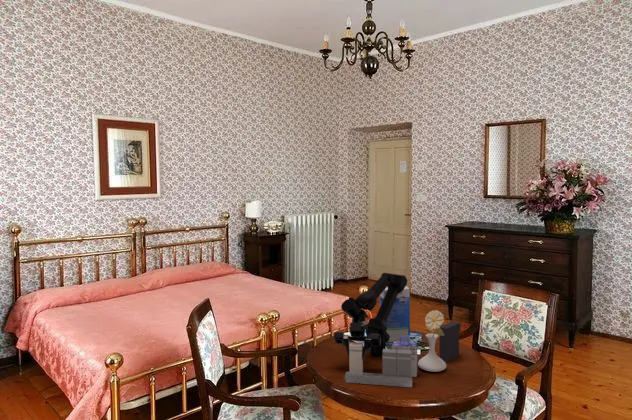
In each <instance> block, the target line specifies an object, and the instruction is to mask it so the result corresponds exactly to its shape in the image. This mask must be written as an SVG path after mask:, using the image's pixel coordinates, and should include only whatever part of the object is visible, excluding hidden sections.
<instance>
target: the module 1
mask: <svg viewBox="0 0 632 420" xmlns="http://www.w3.org/2000/svg"><path fill="white" fill-rule="evenodd" d="M349 343H350V345H349V358H348V359H349V361H348V362H349V365H348V366H349V367H348V369H349V371H348V372H361V373H364V359H363V360H362V353H363V347H364V342H353V341H352V342H350V341H349Z"/></svg>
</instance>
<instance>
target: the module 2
mask: <svg viewBox="0 0 632 420" xmlns="http://www.w3.org/2000/svg"><path fill="white" fill-rule="evenodd" d="M381 357H382V374H390V375H396V350H394V349H392V348H391V349H390V348H386V349H383V356H381Z"/></svg>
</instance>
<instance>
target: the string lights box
mask: <svg viewBox="0 0 632 420" xmlns="http://www.w3.org/2000/svg"><path fill="white" fill-rule="evenodd" d="M387 290H388V287H386V289H385V290H384V291H383V292H382V293H381V294H380V296H379V307H380V306H381V304H382V302H383V299H384V297H385V295H386V293H387ZM410 290H411V289H410V287H408V286H407V285H406V286H405V288H404V290H403V291H402V292H400V293H399V294H398V295H397V297H396V300H395V302H394V304H393V307H392V309H391V311H390V314H389V316H388V318H387V321H386V325H387V330H386V332H387V333H388V334H389V336H390V338H389V341H388V342H394V341H395V342H396V341H400V337H409V340H410V341H411V297H410V295H411V291H410ZM401 340H402V341H406V340H407V339H401Z"/></svg>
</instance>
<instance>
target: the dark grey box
mask: <svg viewBox="0 0 632 420" xmlns="http://www.w3.org/2000/svg"><path fill="white" fill-rule="evenodd" d="M439 329H441V330H442V331H443V333H444V335H445V336H438V338H439V339H438V340H439V342H438V343H439V346H438V347H439V349H438V351H439V353H438V354H439V356H438V357H440V358H441V359H442V360H443V361H444V362H445V363H446V364H447V363H448V362H451V361H453V360H454V359H456V358H459V356H460V332H461V322H457V321H454V320H453V321H450V322H448V323H445V324H442V325H441V327H439Z"/></svg>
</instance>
